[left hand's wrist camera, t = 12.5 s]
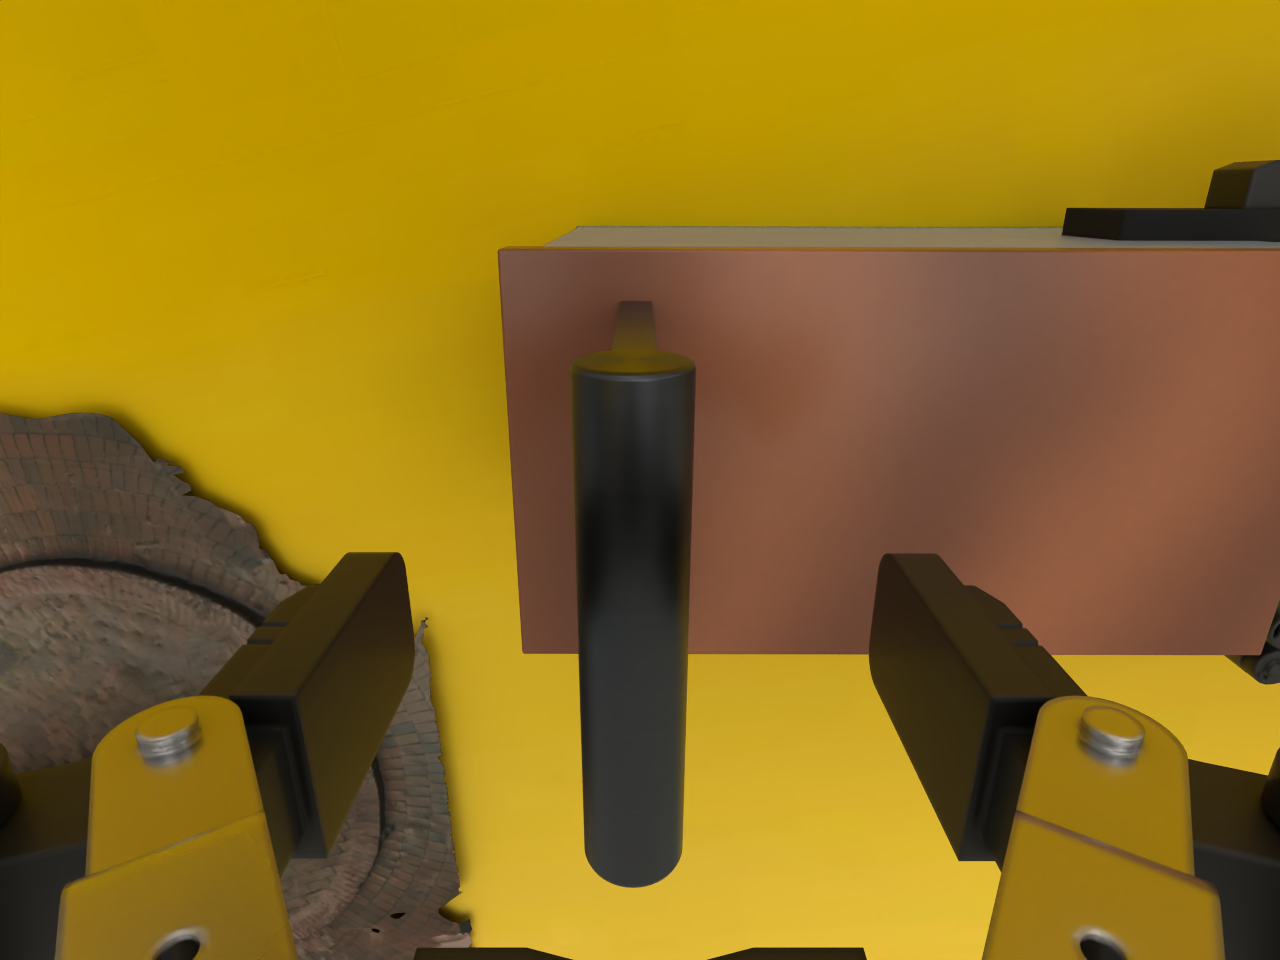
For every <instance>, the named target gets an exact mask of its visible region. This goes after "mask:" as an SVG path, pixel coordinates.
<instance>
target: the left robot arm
mask: <svg viewBox="0 0 1280 960" xmlns="http://www.w3.org/2000/svg"><path fill="white" fill-rule="evenodd" d="M414 660H415V641H414V633H413V624H412V616H411V608H410V600H409V592H408V584H407V576H406V568H405V563H404V560H403V558H402V556H401V554H400V553H398V552H349V553H347V554H345V555H344V557H343V558H342V559H341V560H340V561H339V563H338V564H337V565H336V566H335V567H334V569H333V570H332V571H331V572H330V574H329V575H328V576H327V577H326V578H325V580H324V581H323V582H322V583H321V584H310V585H308V586H307V587H305V588H303V589H302V590H300V591H298V592H296V593H295V594H293V595H291V596H290V597H288V598H286V599H285V600H283V601H281V602H280V603H279V604H278V605H277V607H276V608H275V609H274V610H273V611H272V612H271V613H270V614H269V616H268V617H267V618H266V619H265V620H264V621H263V622H262V627H258V628H257V629H256V630H255V631H254V633H253V634H252V635H251V636H250V637H249V638H248V639H247V644H243V645H242V646H241V647H240V648H239V649H238V651H237V652H236V653H235V654H234V655H233V656H232V657H231V658H230V660H229V661H228V662H227V663H226V664H225V665H224V666H223V667H222V669H221V670H220V671H219V672H218V673H217V674H216V675H215V676H214V678H213V679H212V680H211V681H210V682H209V683H208V684H207V686H206V687H205V688H204V689H203V690H202V691H201V692H200V693H199V695H198V696H191V697H185V698H179V699H175V700H171V701H167V702H164V703H161V704H158V705H155V706H153V707H150V708H148V709H146V710H143V711H141V712H139V713H137V714H135V715H133V716H132V717H130V718H128V719H127V720H125V721H123V722H122V723H120V724H119V725H118V726H116V727H115V728H114V729H112V730H111V731H110V732H109V733H108V734H107V735H106V736H105V737H104V738H103V739H102V740H101V742H100V743H99V744H98V745H97V747H96V749H95V751H94V753H93V757H92V758H91V759H87V760H82V761H77V762H72V763H67V764H63V765H58V766H53V767H48V768H43V769H38V770H33V771H28V772H23V773H18V774H15V772H14V770H13V767H12V764H11V761H10V759H9V756H8V753H7V751H6V748H5V747H4V746H3V744H2V743H0V960H298V956H297V952H296V947H295V943H294V939H293V934H292V930H291V926H290V921H289V917H288V912H287V908H286V904H285V899H284V895H283V891H282V886H281V882H280V878H281V876H282V874H283V873H284V871H285V869H286V867H287V865H288V863H289V861H290V859H327V857H328V855H329V853H330V851H331V849H332V847H333V844H334V842H335V840H336V838H337V836H338V834H339V832H340V830H341V828H342V825H343V823H344V821H345V819H346V817H347V815H348V813H349V811H350V809H351V806H352V804H353V802H354V800H355V798H356V796H357V794H358V792H359V790H360V787H361V785H362V783H363V781H364V779H365V777H366V775H367V773H368V771H369V768H370V766H371V764H372V762H373V760H374V758H375V756H376V754H377V752H378V749H379V747H380V745H381V743H382V741H383V739H384V737H385V735H386V732H387V730H388V728H389V726H390V724H391V722H392V720H393V718H394V716H395V713H396V711H397V709H398V707H399V705H400V703H401V701H402V699H403V697H404V694H405V692H406V690H407V688H408V686H409V684H410V681H411V678H412V674H413V668H414ZM869 663H870V670H871V675H872V679H873V682H874V685H875V687H876V689H877V692H878V694H879V696H880V698H881V700H882V702H883V704H884V706H885V708H886V710H887V712H888V714H889V717H890V719H891V721H892V723H893V725H894V727H895V729H896V731H897V733H898V735H899V737H900V739H901V742H902V744H903V746H904V748H905V750H906V752H907V754H908V756H909V758H910V760H911V762H912V765H913V767H914V769H915V771H916V773H917V775H918V777H919V779H920V781H921V783H922V785H923V787H924V790H925V792H926V794H927V796H928V798H929V800H930V802H931V804H932V806H933V808H934V810H935V812H936V815H937V817H938V819H939V821H940V823H941V825H942V827H943V829H944V831H945V833H946V835H947V837H948V840H949V842H950V844H951V846H952V848H953V850H954V852H955V854H956V856H957V858H958V860H959V861H995V862H996V863H997V865H998V867H999V869H1000V871H1001V878H1000V882H999V886H998V891H997V895H996V899H995V904H994V908H993V912H992V917H991V921H990V926H989V930H988V934H987V939H986V943H985V947H984V952H983V956H982V960H1280V748H1279V749H1278V750H1277V753H1276V756H1275V758H1274V761H1273V764H1272V767H1271V769H1270V772H1269V775H1268V776H1267V775H1263V774H1258V773H1253V772H1248V771H1243V770H1238V769H1233V768H1228V767H1223V766H1218V765H1214V764H1209V763H1204V762H1199V761H1195V760H1191V759H1188V757H1187V753H1186V751H1185V749H1184V747H1183V745H1182V744H1181V743H1180V742H1179V740H1178V739H1177V738H1176V737H1175V736H1174V735H1173V734H1172V733H1171V732H1170V731H1169V730H1168V729H1166V728H1165V727H1164V726H1162V725H1161V724H1160V723H1158V722H1157V721H1155V720H1153V719H1152V718H1150V717H1148V716H1147V715H1145V714H1143V713H1141V712H1139V711H1137V710H1134V709H1132V708H1130V707H1127V706H1125V705H1122V704H1119V703H1116V702H1113V701H1109V700H1105V699H1101V698H1095V697H1089V696H1087V695H1086V694H1085V693H1084V692H1083V691H1082V689H1081V688H1080V687H1079V686H1078V685H1077V684H1076V683H1075V682H1074V681H1073V679H1072V678H1071V677H1070V676H1069V675H1068V674H1067V673H1066V672H1065V670H1064V669H1063V668H1062V667H1061V666H1060V665H1059V664H1058V663H1057V662H1056V660H1055V659H1054V658H1053V657H1052V656H1051V655H1050V654H1049V653H1048V652H1047V650H1046V649H1045V648H1044V647H1043V646H1039V645H1038V640H1037V639H1036V638H1035V637H1034V636H1033V635H1032V634H1031V633H1030V631H1029V630H1028V629H1027V628H1023V624H1022V622H1021V621H1020V620H1019V619H1018V618H1017V617H1016V616H1015V615H1014V614H1013V612H1012V611H1011V610H1010V609H1009V608H1008V607H1007V606H1006V605H1005V604H1004V603H1003V602H1001V601H1000V600H998V599H996V598H995V597H993V596H991V595H990V594H988V593H986V592H985V591H983V590H981V589H979V588H978V587H976V586H974V585H963V583H962V582H961V581H960V580H959V579H958V577H957V576H956V575H955V574H954V573H953V571H952V570H951V569H950V568H949V567H948V565H947V564H946V563H945V562H944V561H943V559H942V558H941V557H940V556H939V555H938V554H936V553H886V554H884V555H883V557H882V559H881V561H880V564H879V569H878V576H877V584H876V592H875V600H874V608H873V616H872V624H871V632H870V640H869ZM413 960H572V959H568V958H564V957H560V956H557V955H553V954H549V953H545V952H541V951H537V950H534V949H530V948H417V949H416V952H415V955H414V959H413ZM708 960H867V959H866V955H865V952H864V949H863V948H750V949H746V950H743V951H739V952H735V953H731V954H727V955H723V956H720V957H716V958H712V959H708Z"/></svg>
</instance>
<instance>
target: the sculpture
mask: <svg viewBox="0 0 1280 960" xmlns="http://www.w3.org/2000/svg"><path fill="white" fill-rule="evenodd" d="M169 463H174V462H165V459H163V458H157V459H156V461H155V462H153V461H152V460H151V458H150V457H149V456H148V454H147V453H146V451H145V450H144V449H143V447H142V446H141V445H140V444H139V443H138V441H137V440H135V439H134V438H133V437H132V436H131V435H130V434H129V433H128V432H127V431H126V430H124V429H123V428H122V427H121V426H120V425H119V424H118V423H117V422H116V421H115V420H113V419H112V418H110V417H107V416H104V415H100V414H93V413H70V414H64V415H58V416H53V417H48V418H42V419H32V418H24V417H18V416H12V415H8V414H3V413H0V743H2V744H3V746H4V747H5V748H6V751H7V753H8V756H9V759H10V761H11V764H12V767H13V770H14V772H15V774H18V773H23V772H28V771H33V770H38V769H43V768H48V767H53V766H58V765H63V764H67V763H72V762H77V761H82V760H87V759H91V758H92V757H93V753H94V751H95V749H96V747H97V745H98V744H99V743H100V742H101V740H102V739H103V738H104V737H105V736H106V735H107V734H108V733H109V732H110V731H111V730H112V729H114V728H115V727H116V726H118V725H119V724H120V723H122V722H123V721H125V720H127V719H128V718H130V717H132V716H133V715H135V714H137V713H139V712H141V711H143V710H146V709H148V708H150V707H153V706H155V705H158V704H161V703H164V702H167V701H171V700H175V699H179V698H185V697H191V696H198V695H199V693H200V692H201V691H202V690H203V689H204V688H205V687H206V686H207V684H208V683H209V682H210V681H211V680H212V679H213V678H214V676H215V675H216V674H217V673H218V672H219V671H220V670H221V669H222V667H223V666H224V665H225V664H226V663H227V662H228V661H229V660H230V658H231V657H232V656H233V655H234V654H235V653H236V652H237V651H238V649H239V648H240V647H241V646H242V645H243V644H247V639H248V638H249V637H250V636H251V635H252V634H253V633H254V631H255V630H256V629H257V628H258V627H262V622H263V621H264V620H265V619H266V618H267V617H268V616H269V614H270V613H271V612H272V611H273V610H274V609H275V608H276V607H277V605H278V604H279V603H280V602H281V601H283V600H285V599H286V598H288V597H290V596H291V595H293V594H295V593H296V592H298V591H300V590H302V589H303V588H305V587H307V586H303V585H301V584H300V582H298V581H294V580H291V579H289V577H288V576H287V575H286V574H283V575H282V574H280V573H279V572H278V570H277V568H276V566H275V563H274V561H273V560H271V558H270V556H269V554H268V552H267V551H265V550H263V549H260V548H259V541H258V535H257V531H256V530H254V528H255V527H253V526H252V525H251V524H250V523H247V522H245V521H244V520H243V518H242V517H240V516H238V515H237V514H235V513H233V512H230V511H227V510H224V509H222V508H219V507H217V506H216V505H214V504H213V503H212V502H210V501H207V500H204V499H202V498H199V497H196V496H184V494H185V493H187V492H189V491H191V487H190V485H189V484H188V483H186V482H183V481H181V480H180V479H178V478H177V477H176V476H174V475H173V474H180V473H183V472H184V470H182V469H181V467H179V466H168V464H169ZM425 618H426V617H425ZM427 619H428V618H426V620H427ZM426 620H423V621H421V626H420V629H419V631H418V633H417V635H416V636H415V638H414V641H415V650H416V652H415V660H414V668H413V674H412V678H411V681H410V684H409V686H408V688H407V690H406V692H405V694H404V697H403V699H402V701H401V703H400V705H399V707H398V709H397V711H396V713H395V716H394V718H393V720H392V722H391V724H390V726H389V728H388V730H387V732H386V735H385V737H384V739H383V741H382V743H381V745H380V747H379V749H378V752H377V754H376V756H375V758H374V760H373V762H372V764H371V766H370V768H369V771H368V773H367V775H366V777H365V779H364V781H363V783H362V785H361V787H360V790H359V792H358V794H357V796H356V798H355V800H354V802H353V804H352V806H351V809H350V811H349V813H348V815H347V817H346V819H345V821H344V823H343V825H342V828H341V830H340V832H339V834H338V836H337V838H336V840H335V842H334V844H333V847H332V849H331V851H330V853H329V855H328V857H327V859H290V861H289V863H288V865H287V867H286V869H285V871H284V873H283V874H282V876H281V878H280V882H281V886H282V891H283V895H284V899H285V904H286V908H287V912H288V917H289V921H290V926H291V930H292V934H293V939H294V943H295V947H296V952H297V956H298V960H413V959H414V955H415V952H416V949H417V948H468V947H469V946H470V944H471V943H472V940H471V938H470V936H469V933H470V932H471V930H472V928H471V925H470V919H469V920H468V921H466V922H464V923H455V922H451V921H449V920H447V919H445V918H444V917H442V916H441V915H440V914H439V912H438V910H439V908H440V907H443V906H444V905H445V904H446V903H448V902H449V901H450V900H452V899H453V898H455V897H456V896H458V895H459V893H460V892H462V891H460V892H459V890H458V888H459V887H460V883H459V880H458V879H459V877H458V875H457V873H458V869H457V867H456V865H455V854H454V853H453V852H452V851H453V850H454V847H453V841H452V838H450V837H451V835H452V834H451V821H450V818H449V817H450V816H451V815H450V813H449V811H448V806H447V805H448V802H447V800H448V796H447V787H446V786H445V785H446V782H444V775H445V771H444V770H443V766H444V765H443V764H442V763H441V761H440V760H439V759H438V757H439V756H441V755H442V752H441V751H440V750H441V749H440V746H441V743H440V740H438V738H439V736H438V734H439V731H438V727H437V725H436V721H435V718H436V717H435V714H436V713H435V709H434V708H433V706H432V704H431V702H430V697H431V696H430V692H431V691H430V682H429V680H430V679H431V676H430V674H431V672H430V671H429V670H430V664H429V658H430V655H428V653H427V651H426V648H425V647H424V646H423V645H422V644H421V642H422V638H423V629H424V628H427V627H428V626H427V625H426V624H425V621H426ZM460 894H461V893H460ZM394 913H406V914H405V915H403V916H402V917H401V918H399V919H393V918H392V917H391V916H390V915H391V914H394ZM373 928H375V929H378V930H379V931H380V932H379V933H375V932H373V931H372V929H373Z"/></svg>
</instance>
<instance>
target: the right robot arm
mask: <svg viewBox="0 0 1280 960" xmlns="http://www.w3.org/2000/svg"><path fill="white" fill-rule="evenodd" d="M1062 235H1064V236H1075V237H1085V238H1096V239H1107V240H1117V241H1264V242H1280V160H1271V161H1252V162H1235V163H1232V164H1229V165H1227V166H1224V167H1222V168H1219V169H1217V170H1214V172H1213V176H1212V180H1211V184H1210V188H1209V192H1208V196H1207V200H1206V204H1205V208H1067V209H1066V215H1065V220H1064V225H1063V230H1062ZM1225 656H1226V657H1227V658H1228V659H1230V660H1231V661H1232V662H1234V663H1235V664H1236V665H1237V666H1239V667H1240V668H1241V669H1242V670H1244V671H1245V672H1246V673H1248V674H1249V675H1250V676H1252V677H1253V678H1254V679H1255V680H1257V681H1258V682H1259V683H1262V684H1276V683H1280V600H1279V603H1278V606H1277V609H1276V612H1275V615H1274V617H1273V620H1272V623H1271V626H1270V629H1269V632H1268V635H1267V638H1266V641H1265V643H1264V646H1263V649H1262V652H1261V654H1260V655H1225Z"/></svg>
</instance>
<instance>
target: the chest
mask: <svg viewBox="0 0 1280 960" xmlns="http://www.w3.org/2000/svg"><path fill="white" fill-rule="evenodd" d="M1062 230H1063V228H1054V227H625V226H578V227H576V229H575V230H573V231H571V232H569V233H567V234H565V235H563V236H561V237H559V238H558V239H556V240H554V241H552V242H550V243H548V244H546V245H544V246H542V247H942V248H1280V243H1277V242H1264V241H1117V240H1107V239H1096V238H1085V237H1075V236H1064V235H1062Z"/></svg>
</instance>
